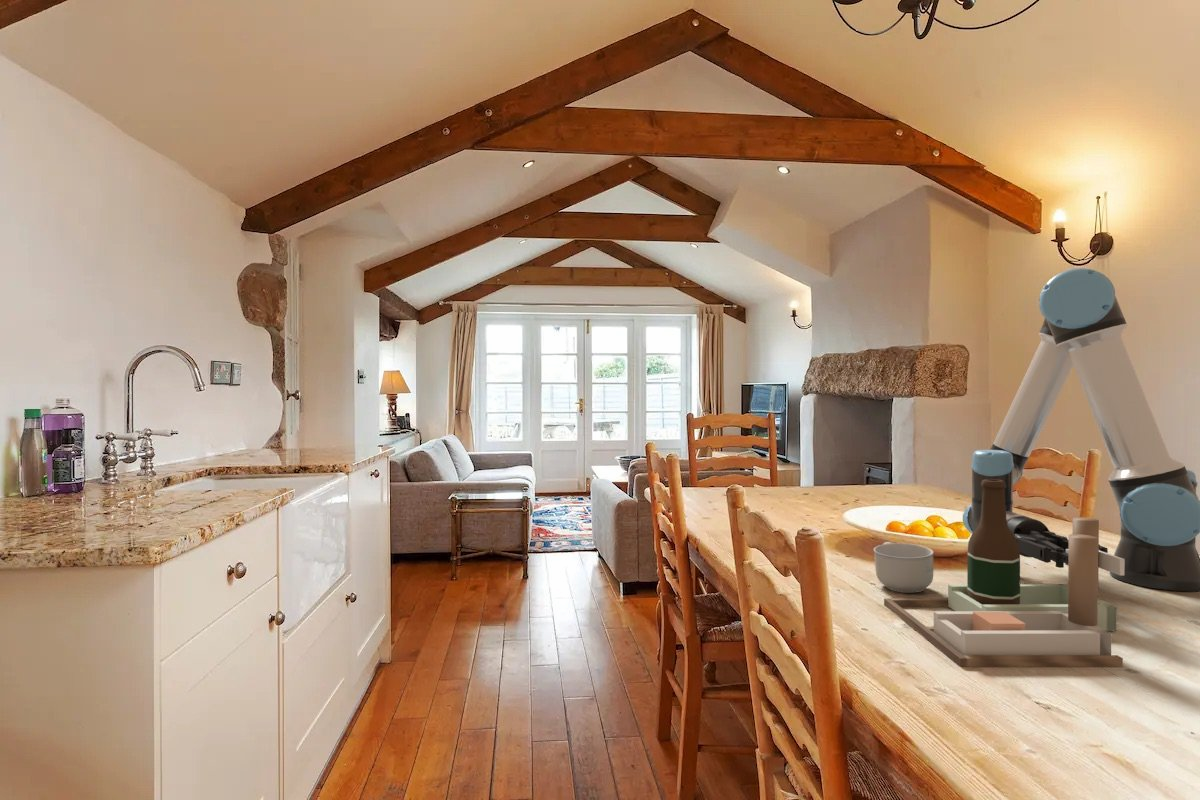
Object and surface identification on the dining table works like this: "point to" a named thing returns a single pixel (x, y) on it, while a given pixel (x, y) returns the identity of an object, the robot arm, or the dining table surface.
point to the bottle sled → (1040, 591)
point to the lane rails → (991, 660)
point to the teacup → (904, 566)
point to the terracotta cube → (996, 622)
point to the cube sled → (1041, 618)
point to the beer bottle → (993, 552)
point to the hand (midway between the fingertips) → (1108, 567)
